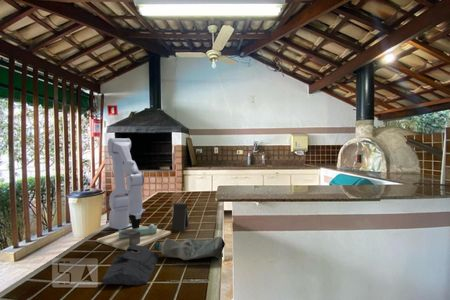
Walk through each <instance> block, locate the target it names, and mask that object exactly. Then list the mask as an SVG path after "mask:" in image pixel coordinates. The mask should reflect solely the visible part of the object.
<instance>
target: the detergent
mask: <svg viewBox="0 0 450 300" xmlns="http://www.w3.org/2000/svg"><path fill="white" fill-rule="evenodd" d="M225 246H226V242H225V241H224V238H223V237H222V236H219V235H218V236H215V237H214V238H211V239H207V240H200V239H199V240H198V239H193V238H190V237H188V238H185V239H184V240H183V241H178V240H175V239H171V238H169V237H166V238H165V239H164V240H163V241H158V242H155V244H154V251H157V252H161V254H162V256H163V257H165V258H176V259H178V258H179V259H181V260H183V261H189V260H193V259H203V258H210V257H215V258H217V259H218V260H219V259H221V257H222V255H223V253H222V252H223V250H224V248H225Z"/></svg>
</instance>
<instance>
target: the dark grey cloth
mask: <svg viewBox="0 0 450 300" xmlns="http://www.w3.org/2000/svg"><path fill="white" fill-rule="evenodd" d="M160 257H161V255H160V254H159V253H157V252H155V251H152V250H150V249H149V248H148V246H146V245H144V246H139V245H135V244H130V246H129V247H128V248H127V251H124V252H123V254H117V255H116V256H115V257H114V258H113V260H112V262H111V265H110V266H109V267H108V268H107V270H106V272H105V274H104V276H103V277H102V279H101V280H102V282H101V283H103V284H104V285H126V286H142V285H146V284H148V283H149V281H150V279H151V276H152V275H153V272H154V270H156V266H157V263H158V262H159V258H160Z"/></svg>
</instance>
